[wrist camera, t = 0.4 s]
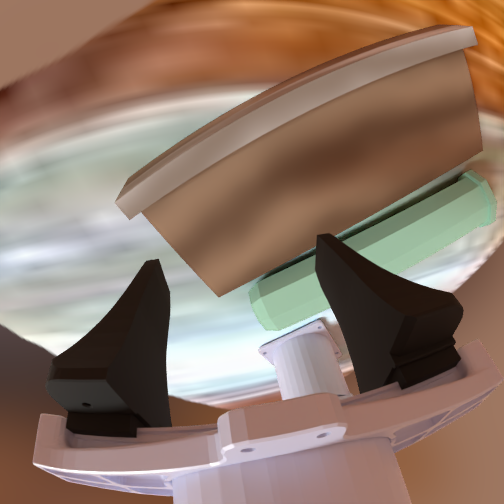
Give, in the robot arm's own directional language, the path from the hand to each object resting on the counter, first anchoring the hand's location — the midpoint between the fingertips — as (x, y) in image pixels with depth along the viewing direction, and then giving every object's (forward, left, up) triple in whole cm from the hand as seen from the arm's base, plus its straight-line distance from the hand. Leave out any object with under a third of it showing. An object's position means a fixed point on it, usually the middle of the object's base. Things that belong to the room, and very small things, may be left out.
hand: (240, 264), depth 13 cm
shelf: (-2, -8, -10) cm, 13 cm away
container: (-12, -8, -10) cm, 18 cm away
